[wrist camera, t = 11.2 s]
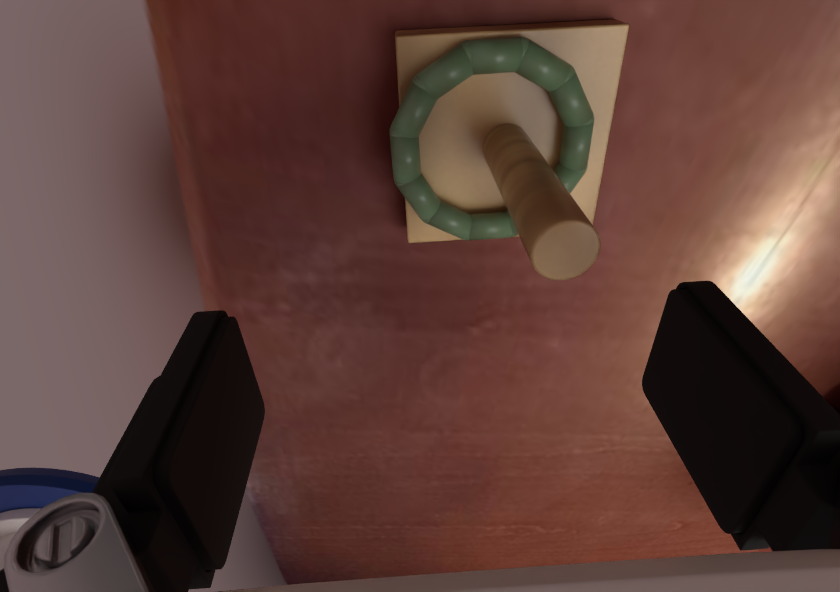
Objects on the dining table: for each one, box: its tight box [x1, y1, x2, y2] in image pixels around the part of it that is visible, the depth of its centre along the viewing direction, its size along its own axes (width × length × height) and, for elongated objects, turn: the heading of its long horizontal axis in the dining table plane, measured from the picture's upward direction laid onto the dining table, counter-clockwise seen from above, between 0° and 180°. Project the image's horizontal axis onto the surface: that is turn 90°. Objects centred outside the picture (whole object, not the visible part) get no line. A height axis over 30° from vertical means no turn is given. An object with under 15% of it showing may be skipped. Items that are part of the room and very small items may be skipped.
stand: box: [395, 19, 629, 280], centre depth 18 cm, size 9×9×10 cm
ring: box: [389, 37, 594, 240], centre depth 21 cm, size 8×8×1 cm
